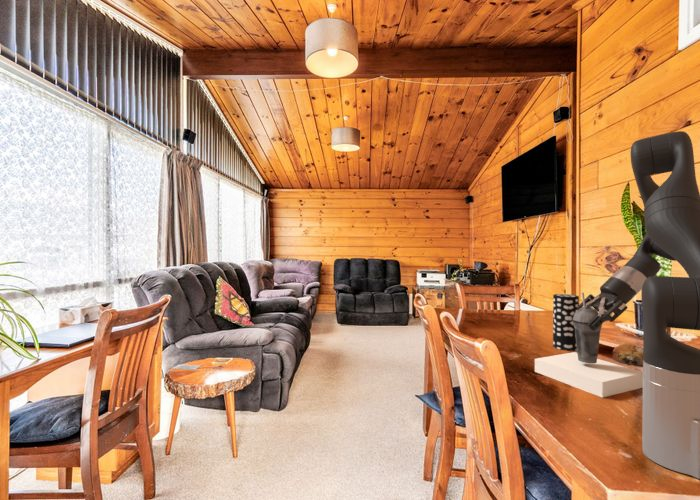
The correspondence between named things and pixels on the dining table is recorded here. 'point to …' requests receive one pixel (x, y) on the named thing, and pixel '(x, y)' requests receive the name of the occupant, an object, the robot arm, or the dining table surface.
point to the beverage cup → (586, 334)
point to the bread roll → (628, 354)
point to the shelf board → (590, 374)
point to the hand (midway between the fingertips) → (582, 325)
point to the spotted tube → (564, 321)
